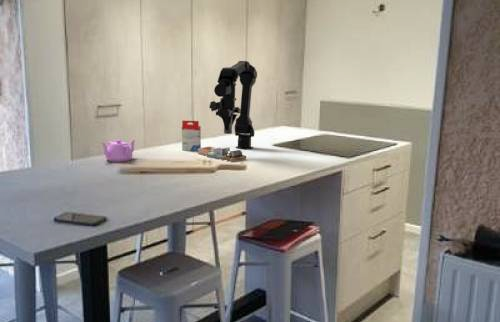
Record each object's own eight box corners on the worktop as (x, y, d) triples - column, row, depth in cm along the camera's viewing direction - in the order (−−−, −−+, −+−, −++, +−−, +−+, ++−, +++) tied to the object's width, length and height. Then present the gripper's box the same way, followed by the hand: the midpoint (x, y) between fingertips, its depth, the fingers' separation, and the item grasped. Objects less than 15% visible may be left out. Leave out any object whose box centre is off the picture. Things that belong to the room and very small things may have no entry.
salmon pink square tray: (209, 152, 254) (209, 146, 254) (219, 154, 250) (219, 148, 249) (198, 154, 249) (198, 148, 249) (208, 156, 245) (208, 150, 244)
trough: (236, 157, 244) (237, 153, 244) (246, 159, 240) (246, 155, 240) (222, 160, 237) (222, 156, 237) (231, 162, 233) (231, 158, 233)
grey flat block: (222, 154, 250) (222, 146, 250) (236, 157, 244) (236, 149, 244) (206, 156, 243) (207, 149, 242) (220, 159, 237) (220, 151, 236)
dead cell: (232, 133, 246) (233, 116, 244) (230, 134, 242) (230, 117, 241) (225, 132, 247) (225, 116, 245) (222, 133, 243) (223, 116, 242)
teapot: (100, 162, 226) (100, 141, 224) (110, 156, 240) (110, 136, 238) (128, 163, 226) (128, 142, 224) (136, 157, 239) (136, 137, 238)
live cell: (236, 157, 242) (236, 149, 241) (242, 158, 240) (242, 150, 239) (225, 159, 237) (225, 151, 236) (231, 160, 234) (231, 152, 234)
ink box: (200, 149, 261) (201, 119, 258) (199, 151, 256) (199, 121, 253) (183, 148, 262) (183, 119, 259) (181, 150, 257) (181, 120, 254)
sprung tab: (228, 153, 244) (228, 147, 244) (229, 154, 243) (230, 147, 243) (220, 155, 241) (220, 148, 240) (222, 155, 240) (222, 149, 239)
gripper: (218, 94, 252) (217, 126, 255) (205, 96, 235) (204, 131, 237) (240, 95, 250) (239, 128, 252) (229, 97, 232) (228, 132, 235)
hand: (227, 130), depth 244 cm, fingers closed on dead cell, 4 cm apart
